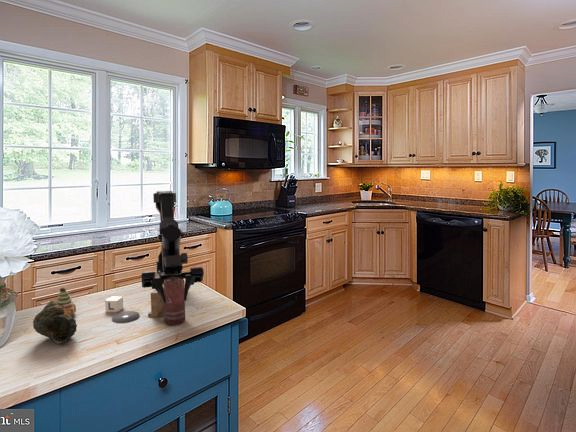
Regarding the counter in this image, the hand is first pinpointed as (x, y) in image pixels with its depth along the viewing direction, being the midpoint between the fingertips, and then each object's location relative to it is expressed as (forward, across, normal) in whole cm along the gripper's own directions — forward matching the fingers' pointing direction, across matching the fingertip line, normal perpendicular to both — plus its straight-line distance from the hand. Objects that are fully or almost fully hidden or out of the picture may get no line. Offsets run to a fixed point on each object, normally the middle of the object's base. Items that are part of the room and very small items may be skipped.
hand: (175, 301), depth 113 cm
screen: (-3, -4, +13) cm, 14 cm away
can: (+4, 0, +6) cm, 7 cm away
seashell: (+6, -32, +5) cm, 33 cm away
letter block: (-8, -18, +18) cm, 27 cm away
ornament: (-7, -34, +17) cm, 38 cm away
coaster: (-2, -14, +12) cm, 19 cm away
